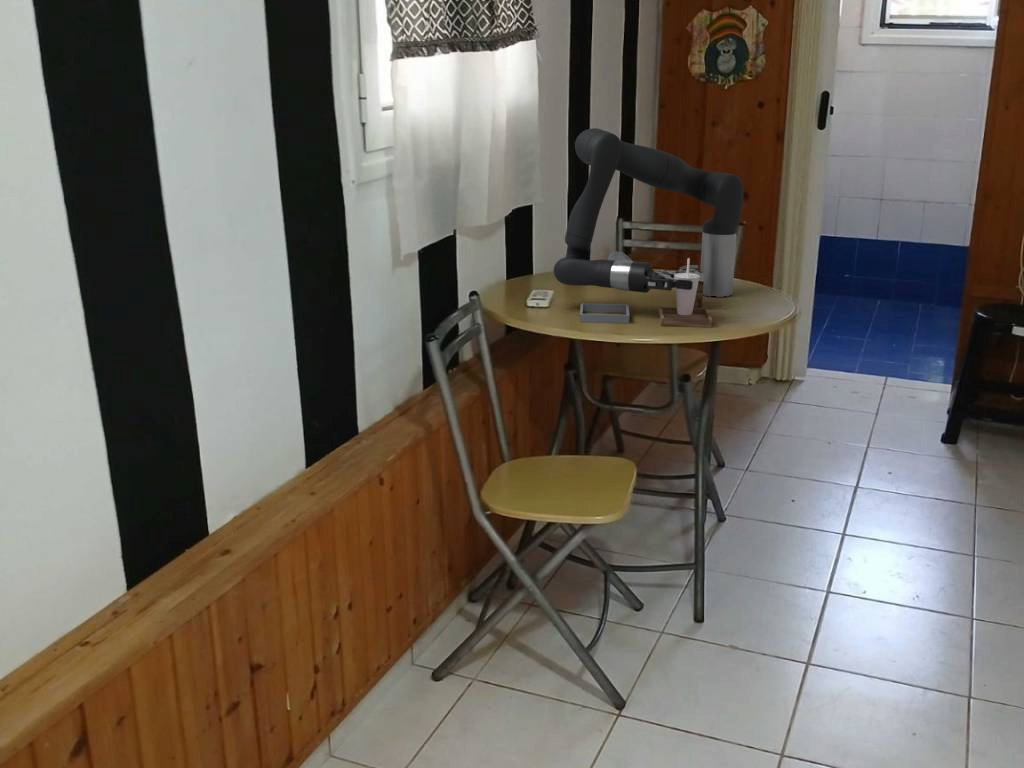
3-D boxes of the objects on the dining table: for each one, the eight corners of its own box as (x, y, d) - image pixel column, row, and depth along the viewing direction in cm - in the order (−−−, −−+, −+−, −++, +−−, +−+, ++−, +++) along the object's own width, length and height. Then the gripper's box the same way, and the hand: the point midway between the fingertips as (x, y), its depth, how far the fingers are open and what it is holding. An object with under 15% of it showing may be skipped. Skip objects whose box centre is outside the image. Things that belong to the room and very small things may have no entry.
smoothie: (673, 316, 258) (677, 260, 253) (670, 310, 264) (673, 255, 260) (699, 316, 258) (703, 260, 253) (695, 310, 264) (699, 255, 260)
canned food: (628, 294, 314) (645, 264, 312) (631, 297, 304) (648, 267, 302) (595, 275, 313) (612, 246, 311) (597, 278, 303) (614, 248, 301)
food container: (673, 300, 283) (674, 264, 280) (695, 301, 283) (698, 264, 280) (678, 311, 271) (680, 273, 269) (702, 311, 271) (704, 273, 268)
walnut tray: (658, 314, 268) (659, 307, 267) (706, 315, 267) (707, 308, 266) (661, 326, 256) (661, 318, 255) (711, 327, 255) (712, 319, 254)
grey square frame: (580, 310, 271) (580, 303, 270) (627, 312, 270) (628, 304, 269) (579, 322, 259) (579, 314, 259) (629, 323, 258) (629, 315, 258)
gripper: (622, 266, 257) (689, 272, 250) (641, 256, 269) (704, 263, 262) (621, 296, 259) (687, 303, 252) (639, 285, 271) (702, 292, 265)
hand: (695, 282), depth 257 cm, fingers closed on smoothie, 6 cm apart
